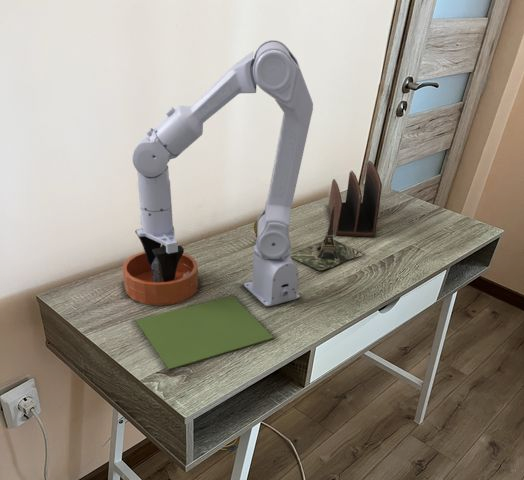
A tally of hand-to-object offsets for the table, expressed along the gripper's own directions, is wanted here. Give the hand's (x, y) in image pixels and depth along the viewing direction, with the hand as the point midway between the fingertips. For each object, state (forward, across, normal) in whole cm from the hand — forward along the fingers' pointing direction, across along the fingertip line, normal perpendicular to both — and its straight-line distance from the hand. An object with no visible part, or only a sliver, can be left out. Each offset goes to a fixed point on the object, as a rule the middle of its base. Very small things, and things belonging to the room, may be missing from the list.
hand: (161, 271), depth 106 cm
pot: (+3, 0, 0) cm, 3 cm away
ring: (+4, -7, +29) cm, 30 cm away
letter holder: (+4, -11, +57) cm, 58 cm away
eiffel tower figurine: (+4, +3, +39) cm, 39 cm away
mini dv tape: (+2, 0, 0) cm, 2 cm away
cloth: (+3, +18, +1) cm, 18 cm away
